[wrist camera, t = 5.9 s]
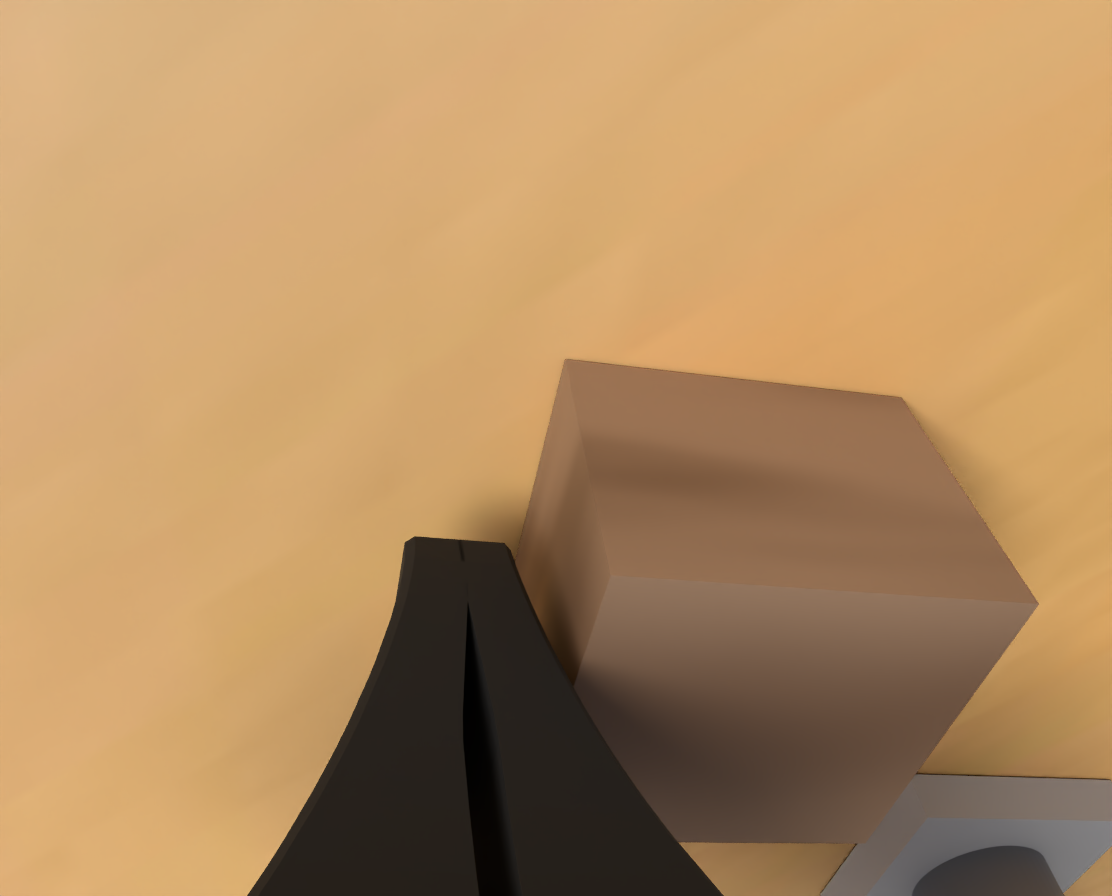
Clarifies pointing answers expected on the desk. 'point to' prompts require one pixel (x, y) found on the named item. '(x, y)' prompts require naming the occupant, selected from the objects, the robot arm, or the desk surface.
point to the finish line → (982, 838)
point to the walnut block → (761, 595)
